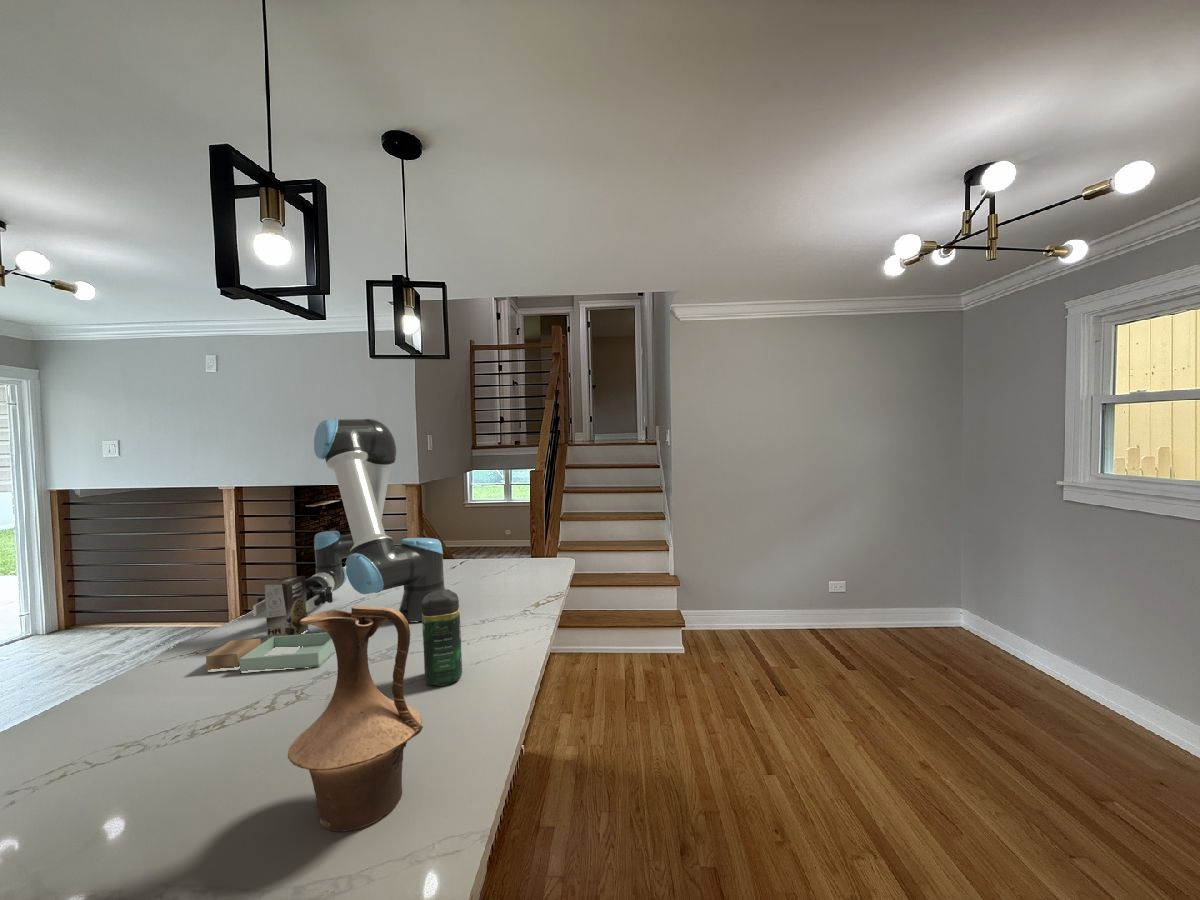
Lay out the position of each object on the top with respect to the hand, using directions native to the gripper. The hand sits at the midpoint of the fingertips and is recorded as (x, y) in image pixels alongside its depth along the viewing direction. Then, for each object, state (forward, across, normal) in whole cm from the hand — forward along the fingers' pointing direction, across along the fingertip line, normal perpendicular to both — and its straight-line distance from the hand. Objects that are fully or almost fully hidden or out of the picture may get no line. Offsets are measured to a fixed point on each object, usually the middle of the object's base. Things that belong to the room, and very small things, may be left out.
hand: (281, 608), depth 145 cm
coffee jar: (+32, -49, -9) cm, 59 cm away
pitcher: (+73, -46, -9) cm, 87 cm away
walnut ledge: (+13, +5, -9) cm, 17 cm away
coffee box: (-3, 0, -9) cm, 10 cm away
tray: (+13, -9, -9) cm, 18 cm away
